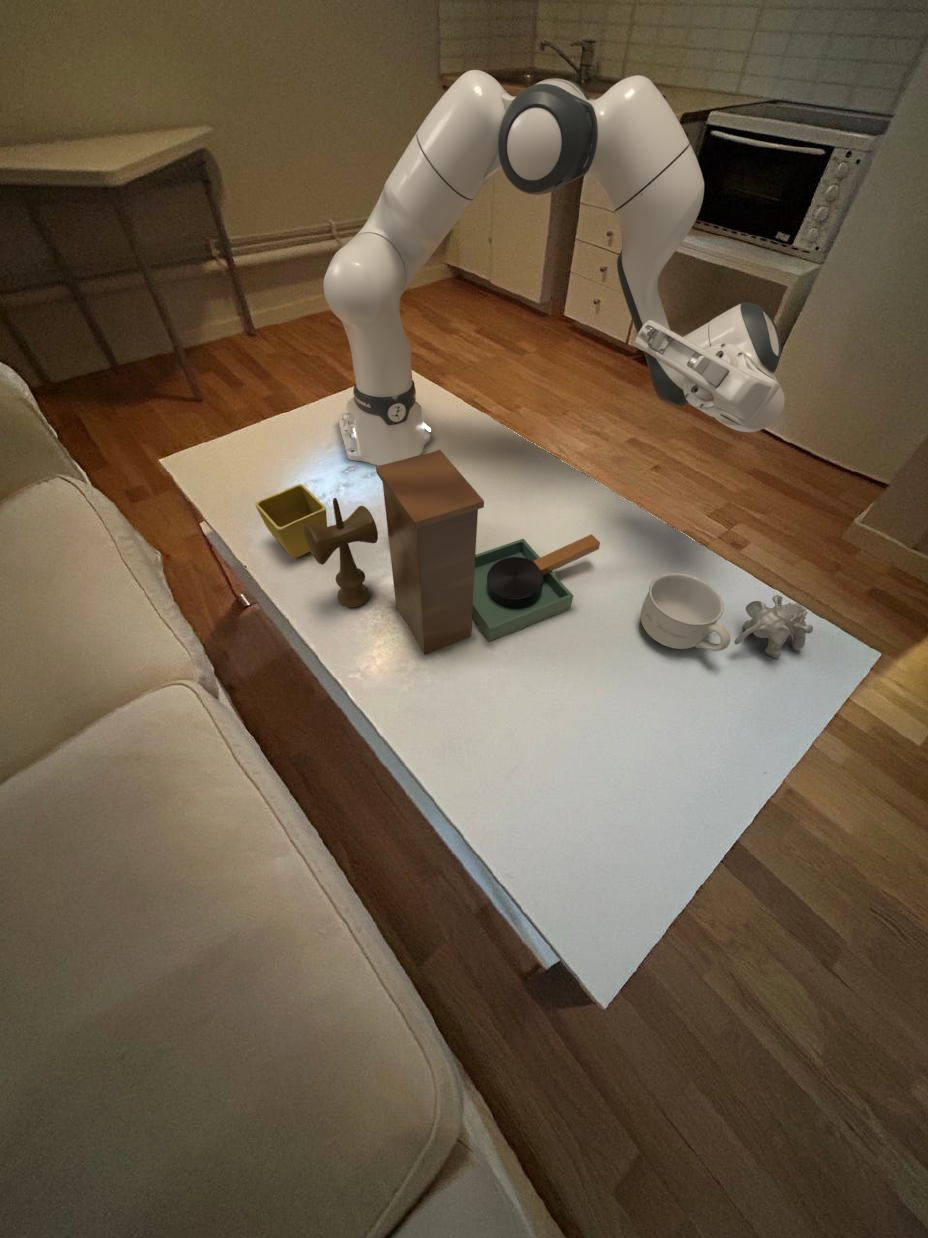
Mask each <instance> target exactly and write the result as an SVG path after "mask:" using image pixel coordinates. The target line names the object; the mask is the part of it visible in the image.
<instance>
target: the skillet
mask: <svg viewBox="0 0 928 1238" xmlns="http://www.w3.org/2000/svg"><path fill="white" fill-rule="evenodd" d="M600 547H601V542H600V541H599V540H598V539H597V538H596V537H595V536H594V535H593V534H592V533H590V534H589V535H586V536H584V537H582V538H580V539H578V540H575V541H573V542H571V543H569V544H567V545H564V546H563V547H561V548H560V547H559V548H558V549H555V550H554V551H551V552H549V553H548V554H545V555H543V556H541V557H540V558H538V559H536V560H534V561H533V562H532V561H531V560H529V559H526V558H522V557H510V558H505V559H502V560H500V561H498V562H497V563H495V564H494V565H493V566H492V567H491V568H490V570H489V572H488V574H487V587H488V593H489V595H490V597H491V598H492V599H493V601H495V602H496V603H497V604H499V605H501V606H504V607H507V608H522V607H526V606H528V605H530V604H532V603H534V602H535V601H536V600H537V599H538V598H539V596H540V595H541V592H542V585H543V575H545V574H547V573H549V572H551V571H552V572H553V571H556V570H558V569H560V568H562V567H564V566H566V565H568V564H570V563H572V562H575V561H577V560H579V559H581V558H583V557H585V556H588V555H590V554H593V553H594V552H596V551H598V550H600Z"/></svg>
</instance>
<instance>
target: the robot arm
mask: <svg viewBox="0 0 928 1238" xmlns="http://www.w3.org/2000/svg"><path fill="white" fill-rule="evenodd" d="M499 170H502V172H503V173H504V175H505V177H506V179H507V180H508V181H509V183H510V184H511V185H512V186H513V187H515V188H516V189H517V190H519V191H520V192H522V193H525V194H527V195H534V196H540V195H546V194H550V193H552V192H554V191H556V190H558V189H561V188H562V187H565V186H566V185H568V184H569V183H572V182H574V181H576V180H577V179H579V178H582V177H584V176H585V175H587V176H590V177H591V178H592V179H594V181H595V182H596V183H597V184H598V186H599V187H600V188H601V190H602V191H603V193H604V195H605V197H606V199H607V201H608V202H609V204H610V207H611V208H612V210H613V211H614V214H615V216H616V218H617V221H618V223H619V228H620V233H621V243H622V244H621V250H620V252H619V254H618V256H617V259H616V267H617V268H616V269H617V275H618V279H619V284H620V286H621V291H622V293H623V296H624V299H625V303H626V305H627V308H628V312H629V315H630V317H631V320H632V323H633V325H634V328H635V331H636V334H637V335H636V337H635V340H634V344H635V346H636V347H638V348H639V349H641V350H642V352H643V354H644V356H645V359H646V363H647V368H648V372H649V376H650V377H649V378H650V380H651V384H652V387H653V390H654V392H655V394H656V396H657V397H658V399H659V400H661V401H662V402H664V403H666V404H670V405H672V406H673V405H674V406H678V407H685V406H687V405H688V404H689V405H691V406H692V407H694V408H696V409H697V410H699V411H700V412H702V413H704V414H705V415H707V416H709V417H712V418H715V420H717V421H718V422H719V423H720V424H722V425H724V426H725V427H728V428H729V429H732V430H735V431H737V432H740V433H741V432H742V433H755V432H759V431H762V430H765V428H767V427H769V426H771V425H772V424H773V423H774V422H775V421H776V420H777V419H778V418H779V417H780V415H781V414H782V413H783V410H784V408H785V405H786V404H785V403H786V397H785V393H784V390H783V388H782V386H781V385H780V383H779V381H778V379H777V377H776V374H775V372H776V371H777V370H778V369H777V368H778V366H779V363H780V359H781V356H782V342H781V341H782V340H781V336H780V333H779V329H778V327H777V324H776V322H775V321H774V319H773V318H772V317H771V315H770V314H769V312H768V311H767V310H766V309H765V308H764V307H762V306H760V305H758V304H755V303H753V302H747V301H746V302H745V301H743V302H741V303H739V304H736V305H735V306H733V307H732V308H730V309H727V310H726V311H723V313H721V314H718V315H717V316H715V317H714V318H712V319H711V320H710V321H708V322H707V323H705V324H702V325H701V326H700V327H698V328H695V329H694V330H692V331H690V332H689V333H687V334H686V335H684V336H681V335H680V334H678V333H677V332H675V331H673V330H671V327H670V325H669V322H668V319H667V316H666V312H665V309H664V306H663V303H662V299H661V296H660V294H659V287H658V286H659V278H660V276H661V273H662V271H663V270H664V268H665V266H666V265H667V263H668V262H669V260H671V258H672V257H673V256H674V254H675V252H676V251H677V250H678V248H680V246H681V244H682V243H683V241H684V240H685V239H686V237H687V236H688V234H689V233H690V231H691V229H692V227H693V226H694V224H695V222H696V220H697V218H698V216H699V215H700V211H701V209H702V205H703V201H704V195H705V180H704V177H703V172H702V169H701V167H700V164H699V161H698V158H697V156H696V153H695V151H694V149H693V147H692V144H691V142H690V141H689V138H688V136H687V134H686V133H685V130H684V128H683V127H682V124H681V123H680V121H679V119H678V117H677V116H676V114H675V112H674V111H673V109H672V107H671V106H670V105H669V103H668V101H667V99H666V98H665V97H664V96H663V94H662V93H661V92H660V91H659V89H658V88H657V86H656V85H655V84H654V82H653V81H652V80H651V79H649V78H648V77H647V76H644V75H639V74H638V75H631V76H628V77H625V78H623V79H621V80H619V81H618V82H616V83H615V84H613V85H612V86H611V87H610V88H609V89H608V90H607V91H606V92H605V93H604V94H603V95H601V96H600V97H599V98H595V100H591V99H590V98H589V96H588V94H587V92H586V91H585V90H584V89H583V88H582V87H581V86H580V85H579V84H578V83H576V82H574V81H573V80H568V79H564V78H547V79H543V80H541V81H538V82H536V83H535V84H533V85H530V86H528V87H526V88H525V89H523V90H522V91H520V92H519V93H518V94H517V95H516V96H513V95H512V94H509V93H508V92H507V91H506V89H504V87H503V86H502V85H501V84H500V82H499V81H498V80H497V79H496V78H495V77H493V76H492V75H490V74H489V73H487V72H485V71H482V70H480V69H471V70H468V71H466V72H464V73H463V74H461V75H460V76H459V77H458V78H457V79H456V80H455V81H454V83H453V84H451V86H450V87H449V88H448V89H447V90H446V92H444V94H443V95H442V96H441V97H440V98H439V99H438V101H437V102H436V104H435V105H434V106H433V108H432V109H431V111H430V112H429V113H428V115H427V116H426V117H425V119H424V120H423V122H422V123H421V125H420V126H419V128H418V130H417V131H416V132H415V134H414V135H413V137H412V139H411V141H410V142H409V144H408V145H407V147H406V149H405V151H404V152H403V154H402V155H401V157H400V158H399V160H398V162H397V163H396V165H395V166H394V168H393V170H392V171H391V172H390V174H389V176H388V178H387V179H386V181H385V183H384V185H383V186H384V187H383V189H382V191H381V193H380V196H379V198H378V199H377V201H376V204H375V206H374V207H373V209H372V212H371V213H370V215H369V217H368V219H367V220H366V222H365V223H364V224H363V226H362V227H361V229H360V230H359V231H358V232H357V233H356V234H355V235H354V236H353V237H352V238H351V239H350V240H349V241H348V242H347V243H345V244H344V245H343V246H342V247H341V248H340V249H338V250H337V251H336V252H335V254H334V255H333V256H332V258H331V261H330V263H329V265H328V266H327V270H326V272H325V274H324V277H323V294H324V299H325V300H326V303H327V305H328V307H329V309H330V310H331V312H332V313H333V314H334V316H336V317H337V319H339V320H340V321H341V324H342V326H343V328H344V331H345V334H346V337H347V340H348V344H349V348H350V354H351V361H352V368H353V376H354V385H353V392H352V393H353V396H352V398H351V399H349V400H348V401H347V403H346V411H347V413H342V414H341V419H340V420H339V422H338V425H339V431H340V434H341V436H342V441H343V445H344V449H345V452H346V453H345V454H346V457H347V459H348V460H350V461H355V462H364V463H368V464H370V465H373V466H381V465H384V464H388V463H392V462H396V461H399V460H403V459H407V458H411V457H414V456H418V455H422V453H423V451H424V448H425V446H426V445H427V444H428V443H429V442H430V441H431V434H430V432H432V428H431V427H430V426H428V425H427V424H426V423H425V422H424V415H423V407H422V405H421V404H420V403H419V402H417V399H416V395H417V392H416V390H417V389H416V387H415V386H416V385H415V381H414V379H413V372H412V371H413V366H412V347H411V341H410V338H409V337H408V336H407V334H406V333H405V329H404V325H403V321H402V318H401V309H400V305H401V299H402V295H403V294H404V293H405V291H406V290H407V289H408V288H409V286H410V285H411V284H412V283H413V281H414V280H415V278H417V276H418V274H419V273H420V272H421V270H422V269H423V267H424V266H425V265H426V264H427V263H428V261H429V259H431V257H432V256H433V255H434V253H435V252H436V251H437V249H438V248H439V246H440V245H441V243H442V242H443V241H444V240H445V238H446V237H447V236H448V235H449V233H450V232H451V231H452V229H453V228H454V226H455V225H456V224H457V223H458V221H459V220H460V218H461V217H462V215H463V214H464V213H465V212H466V211H467V209H468V208H469V206H470V205H471V204H472V203H473V201H474V200H475V198H476V197H477V196H478V194H479V193H480V192H481V191H482V189H483V187H484V186H485V185H486V184H487V183H488V181H489V180H490V179H491V178H492V176H493V175H494V174H495V173H497V172H498V171H499Z"/></svg>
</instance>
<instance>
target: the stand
mask: <svg viewBox="0 0 928 1238" xmlns="http://www.w3.org/2000/svg"><path fill="white" fill-rule="evenodd" d="M375 472H376V475H377V476H378V477H379V479H380V480H381V482H382V490H383V498H384V499H383V501H384V508H385V517H386V525H387V537H388V546H389V553H390V555H389V556H390V564H391V573H392V582H393V591H394V600H395V607H396V608H397V610H398V612H399V613H400V616H401V618H402V619H403V620H404V622H405V624H406V626H407V627H408V629H409V631H410V632H411V634H412V636H413V637H414V639H415V641H416V643H417V645H418V646H419V648H420V650H421V651H422V653H423V655H427V654H430V653H432V652H435V651H437V650H441V649H442V648H444V647H448V646H451V645H452V644H455V643H457V642H460V641H463V640H465V639H468V638H470V637H472V625H473V618H472V610H473V592H474V574H475V555H476V553H477V535H478V517H479V510H481V509H484V507H485V500H484V499H483V498H482V497H481V496H480V494H479V493H478V492H477V490H475V488H474V487H473V486H472V485H471V484H470V482H469V481H468V480H467V479H466V478H465V477H464V475H462V473H461V472H460V471H459V470H458V468H456V466H455V465H454V464H453V463H452V462H451V461H450V459H449V458H448V457H447V456H446V455H445V454H444V452H443V451H442V449H437V450H434V451H430V452H426V453H423V454H422V453H421V454H420V455H418V456H414V457H411V458H407V459H403V460H399V461H396V462H392V463H388V464H384V465H381V466H378V465H376V466H375Z"/></svg>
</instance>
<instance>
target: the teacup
mask: <svg viewBox="0 0 928 1238" xmlns="http://www.w3.org/2000/svg"><path fill="white" fill-rule="evenodd" d="M724 609H725V605H724V600H723V599H722V597H721V595H720V594H719V593H718V591H717V590H716V589H715V587H713V586H712V585H711V584H709V583H708V582H706V581H704V580H703V579H701V578H698V577H696V576H693V575H690V574H686V573H677V572H671V573H666V574H661V575H659V576H657V577H656V578H654V579H653V580H652V582H650V585H649V588H648V592H647V594H646V596H645V597H644V601H643V603H642V607H641V611H640V621H641V624H642V627H643V629H644V630H645V632H646V633H647V634H648V635H649V637H650V638H651V639H653V640H654V641H656V642H657V643H659V644H660V645H663V646H665V647H668V648H672V649H677V650H682V649H683V650H685V649H690V648H693V647H695V648H696V649H705V650H709V651H712V652H720V651H724V650H726V649H727V648H728V647H729V646H730V644H731V635H730V632H729V631H728V630H727V628H726V627H724V626H723V625H720V624H718V623H717V622H718V621H719V620H720V618H721V617H722V616H723V614H724ZM716 623H717V624H716ZM712 633H715V634H717V636H718V637H719V639H720V643H714V642H711V641H709V640H707V639H706V638H708V636H709V635H710V634H712Z"/></svg>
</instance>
